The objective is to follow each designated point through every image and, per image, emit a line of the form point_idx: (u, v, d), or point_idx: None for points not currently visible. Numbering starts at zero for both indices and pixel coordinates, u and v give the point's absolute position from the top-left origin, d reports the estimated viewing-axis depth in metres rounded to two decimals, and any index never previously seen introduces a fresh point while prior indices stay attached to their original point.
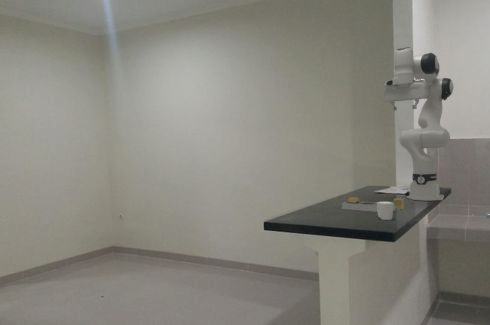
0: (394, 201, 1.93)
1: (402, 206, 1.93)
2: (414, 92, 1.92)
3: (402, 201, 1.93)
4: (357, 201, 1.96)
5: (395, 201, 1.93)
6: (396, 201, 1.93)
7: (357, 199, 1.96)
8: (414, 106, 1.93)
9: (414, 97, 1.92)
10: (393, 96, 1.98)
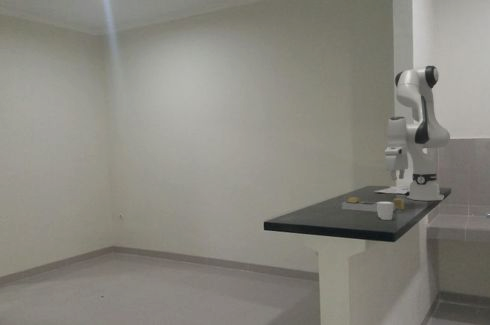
0: (394, 201, 1.93)
1: (402, 206, 1.93)
2: (405, 163, 1.96)
3: (402, 201, 1.93)
4: (357, 201, 1.96)
5: (395, 201, 1.93)
6: (396, 201, 1.93)
7: (357, 199, 1.96)
8: (403, 176, 1.97)
9: (405, 167, 1.96)
10: (398, 165, 1.88)
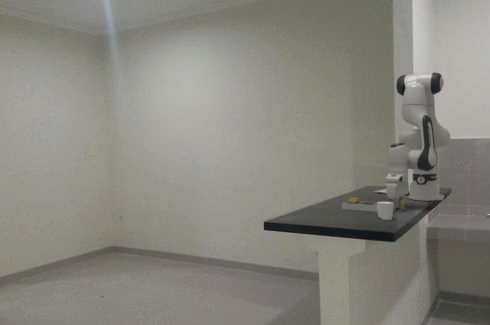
0: None
1: (402, 206, 1.93)
2: (405, 188, 1.97)
3: (402, 201, 1.93)
4: (357, 201, 1.96)
5: None
6: None
7: (357, 199, 1.96)
8: None
9: (405, 193, 1.97)
10: (398, 193, 1.89)
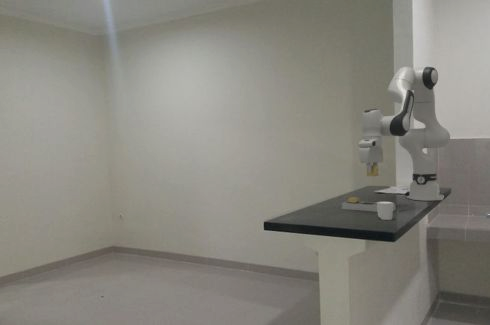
0: None
1: (376, 172, 1.90)
2: (379, 155, 1.94)
3: (376, 167, 1.90)
4: (357, 201, 1.96)
5: None
6: None
7: (357, 199, 1.96)
8: None
9: (379, 160, 1.94)
10: (371, 158, 1.86)
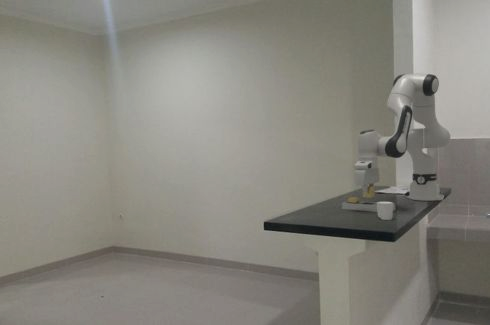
0: None
1: (372, 193, 1.90)
2: (376, 176, 1.94)
3: (372, 188, 1.90)
4: (357, 201, 1.96)
5: None
6: None
7: (357, 199, 1.96)
8: None
9: (376, 181, 1.95)
10: (367, 180, 1.87)
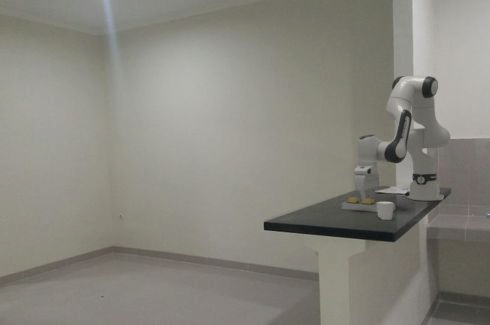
0: (364, 201, 1.92)
1: None
2: (375, 181, 1.95)
3: (372, 201, 1.91)
4: (357, 201, 1.96)
5: (365, 201, 1.91)
6: (366, 201, 1.91)
7: (357, 199, 1.96)
8: (373, 194, 1.96)
9: (375, 186, 1.95)
10: (367, 185, 1.87)
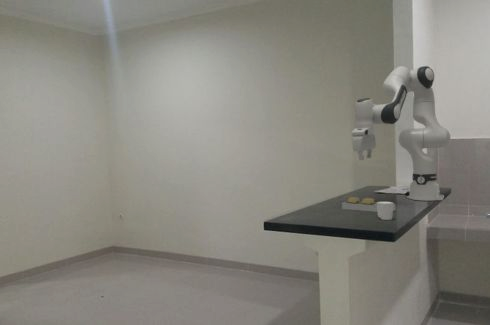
0: (364, 201, 1.92)
1: None
2: (372, 142, 2.04)
3: (372, 201, 1.91)
4: (357, 201, 1.96)
5: (365, 201, 1.91)
6: (366, 201, 1.91)
7: (357, 199, 1.96)
8: (370, 155, 2.05)
9: (372, 147, 2.04)
10: (364, 146, 1.96)
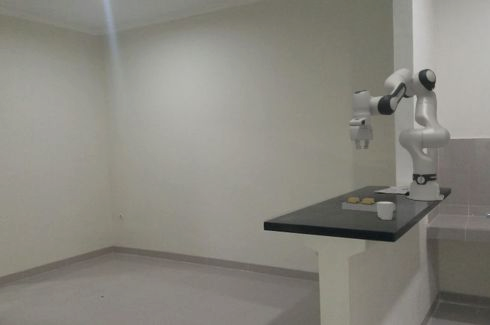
0: (364, 201, 1.92)
1: None
2: (369, 133, 2.10)
3: (372, 201, 1.91)
4: (357, 201, 1.96)
5: (365, 201, 1.91)
6: (366, 201, 1.91)
7: (357, 199, 1.96)
8: (367, 146, 2.11)
9: (369, 138, 2.10)
10: (361, 135, 2.02)
